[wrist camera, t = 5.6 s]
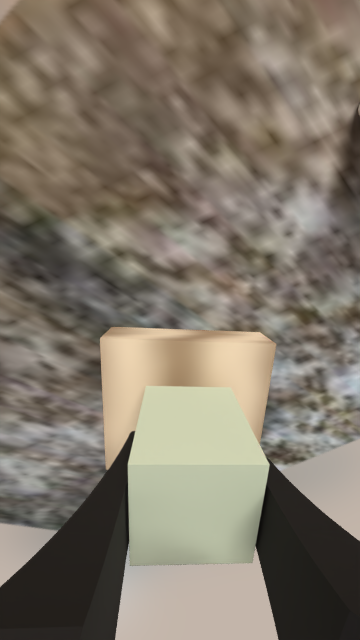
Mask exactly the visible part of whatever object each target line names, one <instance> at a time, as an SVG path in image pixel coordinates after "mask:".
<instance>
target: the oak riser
mask: <svg viewBox="0 0 360 640" xmlns="http://www.w3.org/2000/svg"><path fill="white" fill-rule="evenodd" d="M100 349H101V371H102V393H103V415H104V436H105V458H106V470H108V469H109V468H110V466H111V465H112V463H113V462H114V460H115V459H116V457H117V456H118V454H119V452H120V451H121V449H122V447H123V446H124V444H125V442H126V440H127V438H128V436H129V434H130V433H131V432H132V431H136V427H137V423H138V418H139V414H140V410H141V405H142V401H143V397H144V392H145V388H146V386H183V387H231V389H232V391H233V393H234V395H235V397H236V399H237V401H238V403H239V405H240V407H241V409H242V411H243V413H244V415H245V417H246V419H247V421H248V423H249V425H250V427H251V429H252V431H253V433H254V435H255V437H256V439H257V441H258V443H259V445H260V439H261V433H262V427H263V421H264V415H265V409H266V403H267V397H268V391H269V385H270V379H271V373H272V367H273V361H274V355H275V349H276V344H275V343H274V342H273V341H271V340H270V339H268V338H267V337H266V336H264V335H263V334H261V333H260V332H237V331H209V330H181V329H153V328H125V327H112V328H110V329H109V330H108V331H107V332H106V333H105V334H104V335H103V336H102V337H101V338H100Z"/></svg>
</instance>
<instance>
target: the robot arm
mask: <svg viewBox="0 0 360 640" xmlns="http://www.w3.org/2000/svg"><path fill="white" fill-rule="evenodd" d="M134 435H135V431H132V432H131V433H130V434H129V436H128V438H127V440H126V442H125V444H124V446H123V447H122V449H121V451H120V452H119V454H118V456H117V457H116V459H115V460H114V462H113V463H112V465H111V466H110V468H109V469H108V471H107V472H106V474H105V475H104V476H103V478H102V479H101V481H100V482H99V483H98V485H97V486H96V487H95V489H94V490H93V491H92V493H91V494H90V495H89V496H88V498H87V499H86V500H85V501H84V502H83V504H82V505H81V506H80V507H79V508H78V510H77V511H76V512H75V513H74V514H73V515H72V516H71V518H70V519H69V520H68V521H67V522H66V523H65V524H64V525H63V527H62V528H61V529H60V530H59V531H58V532H57V533H56V534H55V535H54V536H53V537H52V538H51V539H50V540H49V541H48V542H47V543H46V544H45V545H44V546H43V547H42V548H41V549H40V550H39V551H38V552H37V553H36V554H35V555H34V556H33V557H32V558H31V559H30V560H29V561H28V562H27V563H26V564H25V565H24V566H23V567H22V568H21V569H20V570H18V571H17V572H16V573H15V574H14V575H13V576H12V577H11V578H10V579H9V580H7V581H6V582H5V583H4V584H3V585H2V586H1V587H0V640H115V634H116V627H117V619H118V612H119V605H120V598H121V591H122V583H123V577H124V570H125V562H126V555H127V550H128V544H129V501H128V461H129V457H130V453H131V448H132V444H133V440H134ZM264 455H265V454H264ZM265 457H266V459H267V461H268V462H269V464H270V466H269V471H268V477H267V483H266V488H265V494H264V500H263V505H262V511H261V517H260V522H259V528H258V534H257V539H256V545H255V546H256V549H257V552H258V556H259V560H260V564H261V568H262V572H263V576H264V580H265V584H266V588H267V592H268V596H269V601H270V605H271V609H272V613H273V617H274V621H275V626H276V630H277V634H278V639H279V640H360V541H359V540H357V539H356V538H354V537H353V536H352V535H351V534H349V533H348V532H347V531H346V530H344V529H343V528H342V527H341V526H339V525H338V524H337V523H336V522H334V521H333V520H332V519H330V518H329V517H328V516H327V515H326V514H325V513H323V512H322V511H321V510H320V509H319V508H317V507H316V506H315V505H314V504H313V503H312V502H311V501H310V500H309V499H308V498H307V497H305V496H304V495H303V494H302V493H301V492H300V491H299V490H298V489H297V488H296V487H295V486H294V485H293V484H292V483H291V482H289V480H288V479H287V478H286V477H285V476H284V475H283V474H282V473H281V472H280V471H279V470H278V469H277V468H276V466H275V465H274V464H273V463H272V462H271V461H270V460H269V459H268V458H267V456H266V455H265Z"/></svg>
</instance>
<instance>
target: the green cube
mask: <svg viewBox="0 0 360 640" xmlns="http://www.w3.org/2000/svg"><path fill="white" fill-rule="evenodd" d="M269 466H270V464H269V462H268V461H267V459H266V457H265V455H264V453H263V451H262V449H261V447H260V445H259V443H258V441H257V439H256V437H255V435H254V433H253V431H252V429H251V427H250V425H249V423H248V421H247V419H246V417H245V415H244V413H243V411H242V409H241V407H240V405H239V403H238V401H237V399H236V397H235V395H234V393H233V391H232V389H231V387H183V386H146V388H145V392H144V397H143V401H142V405H141V410H140V414H139V418H138V423H137V427H136V431H135V435H134V440H133V444H132V448H131V453H130V457H129V461H128V501H129V548H130V550H129V551H130V566H140V565H182V564H183V565H186V564H230V563H231V564H233V563H252V562H253V556H254V551H255V545H256V539H257V534H258V528H259V522H260V517H261V511H262V505H263V500H264V494H265V488H266V483H267V477H268V471H269Z"/></svg>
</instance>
